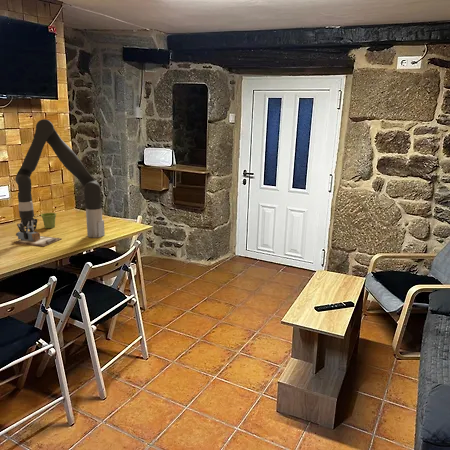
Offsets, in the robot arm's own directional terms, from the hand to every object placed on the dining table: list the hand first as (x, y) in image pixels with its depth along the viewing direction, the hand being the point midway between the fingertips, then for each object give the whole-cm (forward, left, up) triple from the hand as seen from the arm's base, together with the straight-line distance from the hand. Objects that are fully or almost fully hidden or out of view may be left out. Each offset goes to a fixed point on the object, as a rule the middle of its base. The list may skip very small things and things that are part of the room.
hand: (29, 238), depth 242 cm
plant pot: (+10, -29, -2) cm, 31 cm away
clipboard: (-4, -2, -2) cm, 5 cm away
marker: (+1, 0, -1) cm, 1 cm away
